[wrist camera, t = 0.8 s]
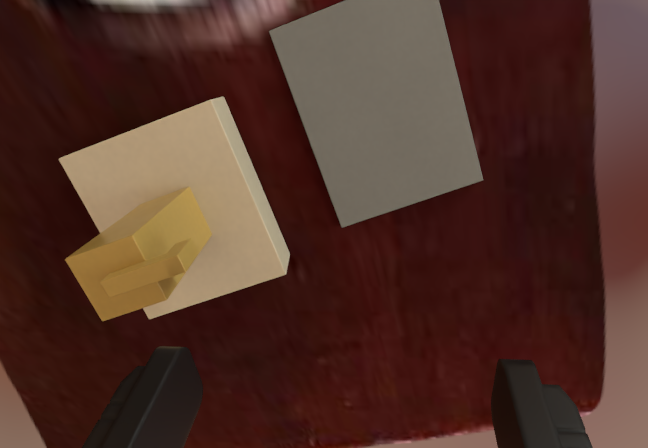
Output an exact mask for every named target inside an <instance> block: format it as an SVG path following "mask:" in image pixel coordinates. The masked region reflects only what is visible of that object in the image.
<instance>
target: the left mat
mask: <svg viewBox="0 0 648 448" xmlns="http://www.w3.org/2000/svg"><path fill="white" fill-rule="evenodd" d="M269 33H270V36H271V39H272V42H273V44H274V47H275V50H276V52H277V55H278V58H279V60H280V63H281V66H282V69H283V71H284V74H285V77H286V79H287V82H288V85H289V87H290V90H291V93H292V96H293V98H294V101H295V104H296V106H297V109H298V112H299V114H300V117H301V120H302V123H303V125H304V128H305V131H306V133H307V136H308V139H309V141H310V144H311V147H312V150H313V152H314V155H315V158H316V160H317V163H318V166H319V168H320V171H321V174H322V176H323V179H324V182H325V185H326V187H327V190H328V193H329V195H330V198H331V201H332V203H333V206H334V209H335V212H336V214H337V217H338V220H339V222H340V225H341V227H342V228H343V227H346V226H349V225H352V224H355V223H358V222H360V221H363V220H366V219H369V218H372V217H375V216H378V215H381V214H384V213H387V212H390V211H393V210H396V209H399V208H402V207H405V206H408V205H411V204H414V203H417V202H420V201H423V200H426V199H429V198H432V197H435V196H438V195H441V194H444V193H447V192H450V191H453V190H456V189H459V188H462V187H465V186H468V185H471V184H474V183H477V182H479V181H482V180H483V177H482V173H481V169H480V165H479V161H478V157H477V153H476V149H475V145H474V141H473V137H472V133H471V129H470V125H469V121H468V117H467V113H466V108H465V104H464V100H463V96H462V92H461V88H460V84H459V80H458V76H457V72H456V68H455V64H454V60H453V56H452V52H451V48H450V44H449V40H448V36H447V32H446V28H445V24H444V20H443V16H442V12H441V8H440V4H439V0H345V1H342V2H340V3H337V4H335V5H333V6H330V7H328V8H325V9H323V10H320V11H318V12H315V13H313V14H310V15H308V16H305V17H303V18H300V19H298V20H295V21H293V22H290V23H288V24H285V25H283V26H280V27H278V28H275V29H273V30H270V31H269Z"/></svg>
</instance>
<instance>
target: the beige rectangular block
mask: <svg viewBox="0 0 648 448" xmlns="http://www.w3.org/2000/svg"><path fill="white" fill-rule="evenodd" d="M59 161H60V163H61V165H62V166H63V168H64V170H65V172H66V173H67V175H68V177H69V179H70V180H71V182H72V184H73V186H74V188H75V189H76V191H77V193H78V195H79V196H80V198H81V200H82V202H83V203H84V205H85V207H86V209H87V211H88V212H89V214H90V216H91V218H92V219H93V221H94V223H95V225H96V226H97V228H98V230H99V232H100V233H102V232H103V231H104V230H106V229H107V228H109V227H110V226H111V225H113V224H114V223H115V222H117V221H118V220H120V219H121V218H122V217H124V216H125V215H126V214H128V213H129V212H131V211H132V210H133V209H135V208H136V207H138V206H139V205H140V204H142V203H145V202H148V201H150V200H153V199H156V198H159V197H161V196H164V195H167V194H170V193H172V192H175V191H178V190H181V189H183V188H186V187H190V189H191V191H192V193H193V195H194V197H195V199H196V201H197V203H198V205H199V207H200V210H201V212H202V214H203V216H204V218H205V220H206V222H207V224H208V226H209V228H210V231H211V233H212V236H211V237H210V239H209V240H208V241H207V243H206V244H205V246H204V247H203V249H202V250H201V252H200V253H199V254H198V256H197V257H196V259H195V260H194V262H193V263H192V265H191V266H190V267H189V269H188V270H187V272H186V273H185V275H184V276H183V278H182V279H181V280H180V282H179V283H178V285H177V286H176V288H175V289H174V291H173V292H172V293H171V295H170V296H169V298H168V299H167V300H165V301H162V302H159V303H156V304H153V305H150V306H147V307H144V308H143V310H144V311H145V313H146V315H147V317H148V318H149V319H152V318H155V317H158V316H161V315H164V314H167V313H170V312H173V311H176V310H179V309H182V308H185V307H188V306H192V305H195V304H198V303H201V302H204V301H207V300H210V299H213V298H216V297H219V296H222V295H225V294H228V293H231V292H234V291H237V290H240V289H243V288H246V287H249V286H253V285H256V284H259V283H262V282H265V281H268V280H271V279H274V278H277V277H280V276H283V275H286V272H287V267H288V262H289V257H290V253H289V250H288V248H287V246H286V243H285V241H284V238H283V236H282V234H281V231H280V229H279V227H278V224H277V222H276V219H275V217H274V215H273V212H272V210H271V208H270V205H269V203H268V200H267V198H266V196H265V193H264V191H263V188H262V186H261V184H260V181H259V179H258V177H257V174H256V172H255V169H254V167H253V165H252V162H251V160H250V158H249V155H248V153H247V150H246V148H245V146H244V143H243V141H242V139H241V136H240V134H239V131H238V129H237V127H236V124H235V122H234V119H233V117H232V115H231V112H230V110H229V108H228V105H227V103H226V100H225V98H224V97H219V98H215V99H211V100H208V101H206V102H203V103H201V104H198V105H195V106H193V107H190V108H188V109H185V110H182V111H180V112H177V113H175V114H172V115H170V116H167V117H164V118H162V119H159V120H157V121H154V122H151V123H149V124H146V125H144V126H141V127H139V128H136V129H133V130H131V131H128V132H126V133H123V134H120V135H118V136H115V137H113V138H110V139H108V140H105V141H102V142H100V143H97V144H95V145H92V146H90V147H87V148H84V149H82V150H79V151H77V152H74V153H71V154H69V155H66V156H64V157H61V158H59Z"/></svg>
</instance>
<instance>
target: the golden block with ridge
mask: <svg viewBox="0 0 648 448" xmlns="http://www.w3.org/2000/svg"><path fill="white" fill-rule="evenodd" d="M211 236H212V233H211V231H210V228H209V226H208V224H207V222H206V220H205V218H204V216H203V214H202V212H201V210H200V207H199V205H198V203H197V201H196V199H195V197H194V195H193V193H192V191H191V189H190V187H186V188H183V189H181V190H178V191H175V192H172V193H170V194H167V195H164V196H161V197H159V198H156V199H153V200H150V201H148V202H145V203H142V204H140V205H139V206H138V207H136V208H135V209H133V210H132V211H131V212H129V213H128V214H126V215H125V216H124V217H122V218H121V219H120V220H118V221H117V222H115V223H114V224H113V225H111V226H110V227H109V228H107V229H106V230H104V231H103V232H102V233H100V234H99V235H98V236H96V237H95V238H93V239H92V240H91V241H89V242H88V243H86V244H85V245H84V246H82V247H81V248H80V249H78V250H77V251H75V252H74V253H73V254H71V255H70V256H69V257H67V258H66V259H65V261H66V262H67V264H68V266H69V267H70V269H71V271H72V272H73V274H74V275H75V277H76V279H77V280H78V282H79V284H80V285H81V287H82V289H83V290H84V292H85V294H86V295H87V297H88V299H89V300H90V302H91V303H92V305H93V307H94V308H95V310H96V312H97V313H98V315H99V317H100V318H101V320H102V321H105V320H108V319H111V318H114V317H117V316H120V315H123V314H126V313H129V312H132V311H135V310H138V309H141V308H144V307H147V306H150V305H153V304H156V303H159V302H162V301H165V300H167V299H168V298H169V296H170V295H171V293H172V292H173V291H174V289H175V288H176V286H177V285H178V283H179V282H180V280H181V279H182V278H183V276H184V275H185V273H186V272H187V270H188V269H189V267H190V266H191V265H192V263H193V262H194V260H195V259H196V257H197V256H198V254H199V253H200V252H201V250H202V249H203V247H204V246H205V244H206V243H207V241H208V240H209V239H210V237H211Z"/></svg>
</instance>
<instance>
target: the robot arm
mask: <svg viewBox="0 0 648 448" xmlns="http://www.w3.org/2000/svg"><path fill="white" fill-rule="evenodd" d="M202 395H203V385H202V381H201V378H200V376H199V373H198V371H197V368H196V366H195V363H194V360H193V358H192V355H191V353H190V350H189V349H188V348H187V347H165V346H160V347H158V348H156V349H155V351H154V352H153V354H152V355H151V357H150V359H149V361H148V362H147V364H146V366H138V367H136V368H135V369H134V370H133V371H132V372H131V373H130V374H129V375H128V376H127V377H126V378H125V379H124V380H123V381H122V382H121V383H120V385H119V387H118V388H117V390H116V392H115V393H114V395H113V397H112V398H111V400H110V404H108V405H107V407H106V408H105V410H104V412H103V413H102V415H101V419H100V420H98V422H97V423H96V425H95V427H94V428H93V430H92V432H91V433H90V435H89V437H88V438H87V440H86V442H85V443H84V445H83V447H82V448H183V447H184V444H185V442H186V439H187V437H188V434H189V432H190V429H191V427H192V424H193V422H194V419H195V417H196V415H197V412H198V410H199V407H200V404H201V401H202ZM491 411H492V420H493V426H494V431H495V435H496V440H497V445H498V448H592V445H591V442H590V440H589V437H588V435H587V434H586V433H585V427H584V425H583V422H582V419H581V417H580V414H579V412H578V409H577V406H576V405H575V404H574V402H573V401H572V400H571V399H570V398H569V397H568V395H567V394H566V393H565V392H564V391H563V390H562V388H561V387H560V386H559V385H544V384H541V381H540V378H539V375H538V372H537V369H536V366H535V364H534V362H533V361H532V360H511V359H499V360H498V363H497V368H496V374H495V380H494V386H493V391H492V398H491Z"/></svg>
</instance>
